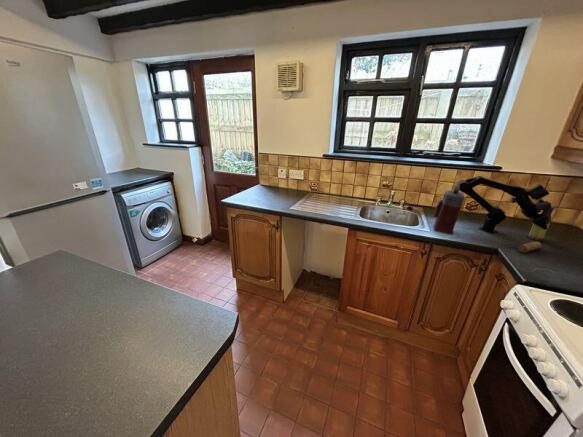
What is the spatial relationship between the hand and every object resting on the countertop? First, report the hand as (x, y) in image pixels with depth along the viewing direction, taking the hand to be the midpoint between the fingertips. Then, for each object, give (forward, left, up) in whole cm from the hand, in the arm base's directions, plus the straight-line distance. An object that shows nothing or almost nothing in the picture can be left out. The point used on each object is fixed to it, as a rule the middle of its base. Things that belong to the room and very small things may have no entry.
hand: (542, 225), depth 137 cm
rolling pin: (-20, -7, -8) cm, 23 cm away
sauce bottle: (0, 0, -8) cm, 9 cm away
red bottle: (-44, +27, -8) cm, 52 cm away
